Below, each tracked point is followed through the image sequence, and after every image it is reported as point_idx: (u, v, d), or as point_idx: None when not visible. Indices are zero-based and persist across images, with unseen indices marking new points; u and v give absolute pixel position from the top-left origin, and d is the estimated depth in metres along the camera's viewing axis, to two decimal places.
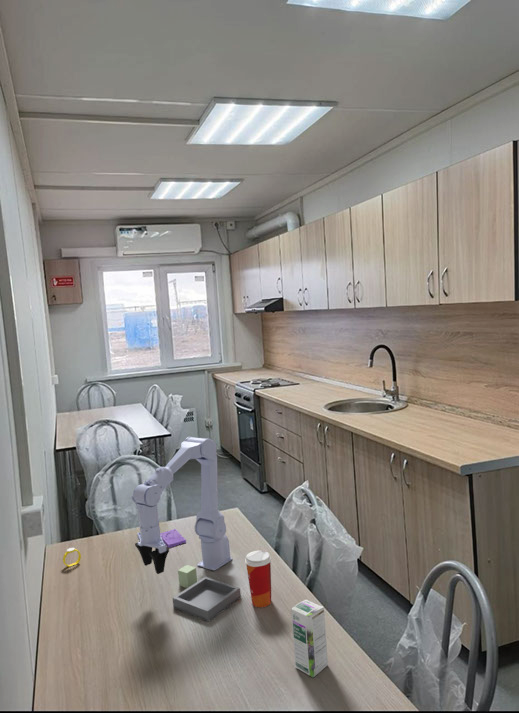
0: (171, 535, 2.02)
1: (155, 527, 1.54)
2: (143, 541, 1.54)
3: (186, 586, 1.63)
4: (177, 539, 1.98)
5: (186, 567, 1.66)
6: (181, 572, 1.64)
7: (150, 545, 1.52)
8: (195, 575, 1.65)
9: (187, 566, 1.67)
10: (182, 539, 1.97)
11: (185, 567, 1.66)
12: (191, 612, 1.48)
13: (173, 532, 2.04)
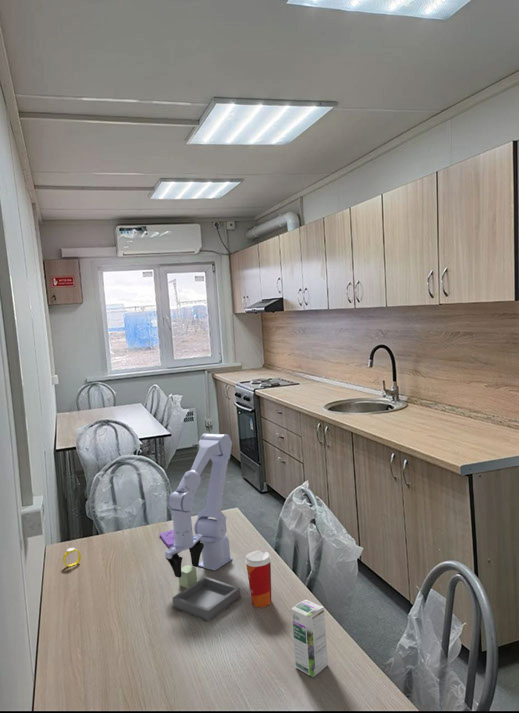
0: (171, 535, 2.02)
1: (177, 534, 1.62)
2: None
3: (186, 586, 1.63)
4: None
5: (186, 567, 1.66)
6: (181, 572, 1.64)
7: None
8: (195, 575, 1.65)
9: (187, 566, 1.67)
10: None
11: (185, 567, 1.66)
12: (191, 612, 1.48)
13: None
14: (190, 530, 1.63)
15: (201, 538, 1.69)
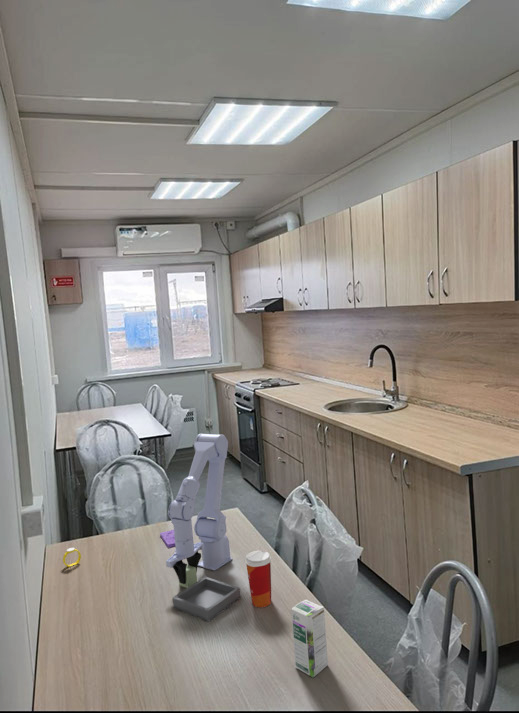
0: (172, 535, 2.02)
1: (178, 542, 1.62)
2: None
3: (186, 586, 1.63)
4: None
5: (186, 567, 1.66)
6: None
7: None
8: (195, 575, 1.65)
9: (187, 566, 1.67)
10: None
11: None
12: (191, 612, 1.48)
13: None
14: (191, 539, 1.63)
15: (202, 546, 1.69)
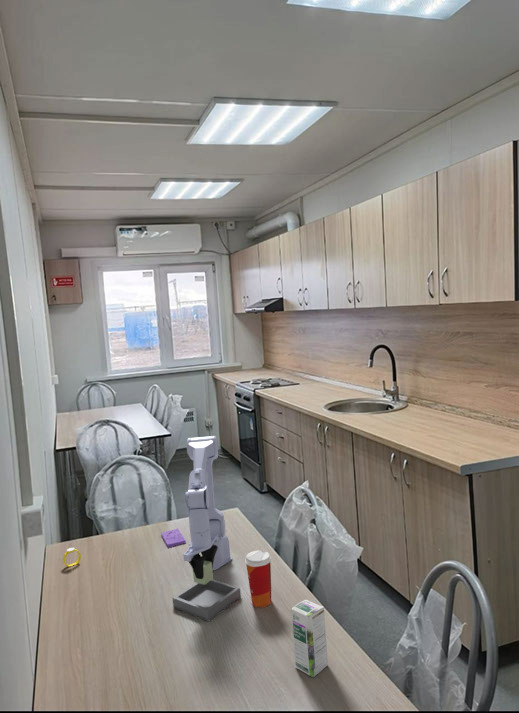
0: (172, 535, 2.02)
1: (195, 534, 1.50)
2: None
3: (202, 582, 1.51)
4: (177, 539, 1.98)
5: None
6: None
7: None
8: (211, 570, 1.54)
9: None
10: (182, 539, 1.97)
11: None
12: (191, 612, 1.48)
13: (175, 532, 2.04)
14: (208, 529, 1.51)
15: (217, 538, 1.58)
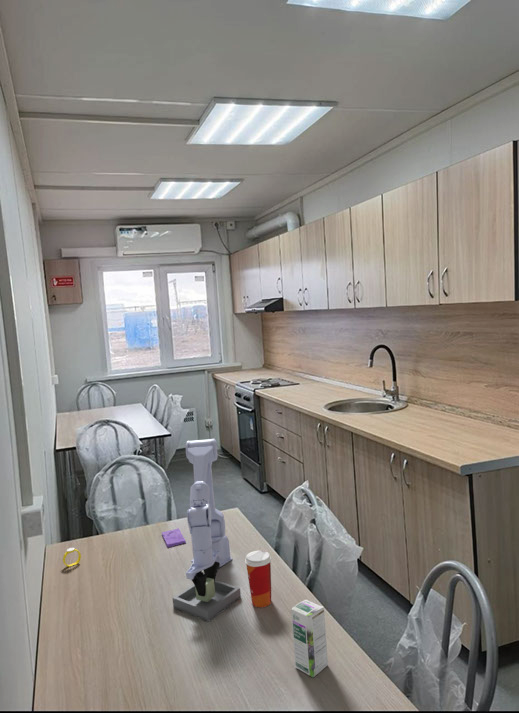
0: (173, 534, 2.02)
1: (198, 552, 1.50)
2: None
3: (205, 599, 1.51)
4: (177, 539, 1.98)
5: None
6: None
7: None
8: (213, 587, 1.54)
9: None
10: (182, 539, 1.97)
11: None
12: (191, 612, 1.48)
13: (176, 532, 2.04)
14: (211, 547, 1.51)
15: (219, 554, 1.58)
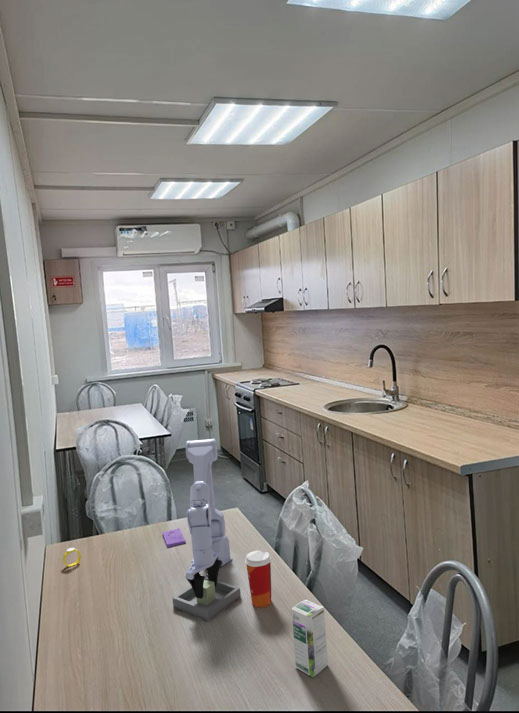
0: (173, 534, 2.02)
1: (198, 552, 1.50)
2: None
3: (205, 603, 1.51)
4: (177, 539, 1.98)
5: None
6: None
7: None
8: (214, 590, 1.54)
9: (204, 581, 1.55)
10: (182, 539, 1.97)
11: None
12: (191, 612, 1.48)
13: (176, 531, 2.04)
14: (210, 547, 1.51)
15: (219, 554, 1.58)
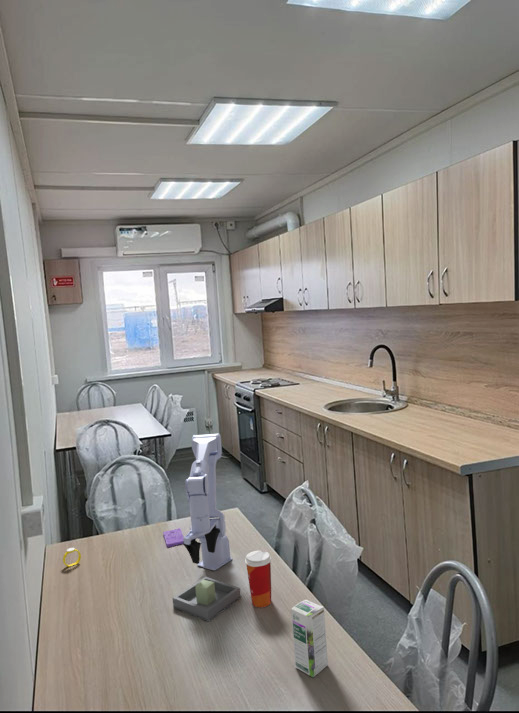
0: (173, 534, 2.02)
1: (195, 519, 1.58)
2: None
3: (205, 603, 1.51)
4: (177, 539, 1.98)
5: (203, 582, 1.54)
6: (199, 588, 1.52)
7: None
8: (214, 590, 1.54)
9: (204, 581, 1.55)
10: (182, 539, 1.97)
11: (202, 582, 1.54)
12: (191, 612, 1.48)
13: (177, 531, 2.05)
14: (207, 515, 1.59)
15: (217, 523, 1.66)
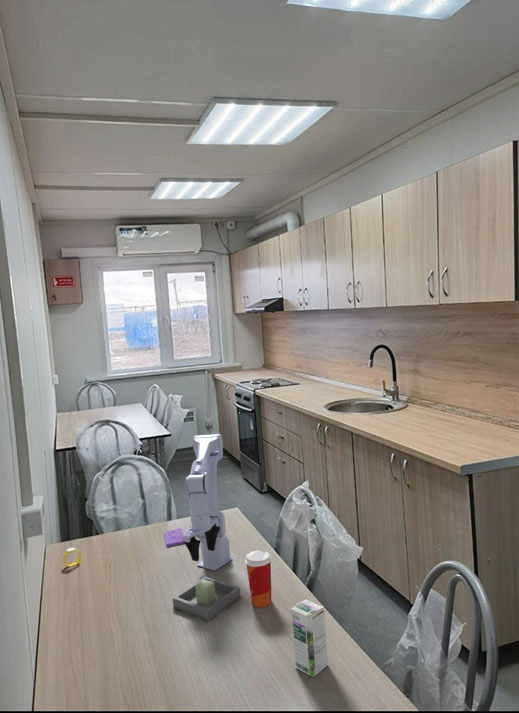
0: (174, 534, 2.02)
1: (195, 517, 1.59)
2: None
3: (205, 603, 1.51)
4: (177, 539, 1.98)
5: (203, 582, 1.54)
6: (199, 588, 1.52)
7: None
8: (214, 590, 1.54)
9: (204, 581, 1.55)
10: (182, 539, 1.97)
11: (202, 582, 1.54)
12: (191, 612, 1.48)
13: (177, 531, 2.05)
14: (207, 513, 1.60)
15: (217, 521, 1.67)
